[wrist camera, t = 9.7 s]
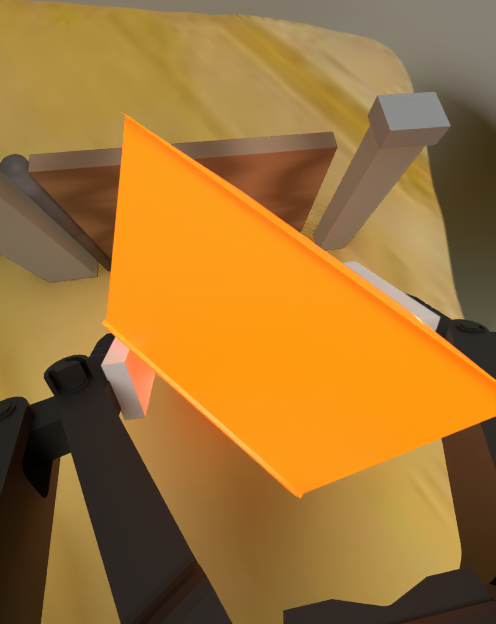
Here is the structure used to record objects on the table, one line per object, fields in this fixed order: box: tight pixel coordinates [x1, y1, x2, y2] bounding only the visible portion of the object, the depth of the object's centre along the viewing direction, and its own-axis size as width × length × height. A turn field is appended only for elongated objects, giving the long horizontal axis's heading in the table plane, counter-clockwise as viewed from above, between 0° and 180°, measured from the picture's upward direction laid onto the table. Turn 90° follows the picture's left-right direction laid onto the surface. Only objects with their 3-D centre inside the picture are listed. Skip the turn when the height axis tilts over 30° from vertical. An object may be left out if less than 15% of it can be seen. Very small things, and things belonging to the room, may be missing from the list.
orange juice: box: [103, 115, 496, 498], centre depth 14 cm, size 8×9×20 cm
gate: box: [0, 132, 337, 271], centre depth 22 cm, size 19×2×12 cm, turn 99°
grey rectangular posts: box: [0, 92, 450, 282], centre depth 21 cm, size 30×3×14 cm, turn 99°
